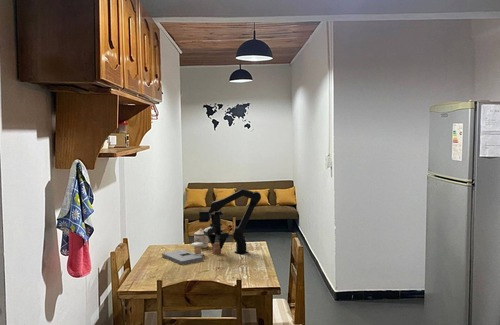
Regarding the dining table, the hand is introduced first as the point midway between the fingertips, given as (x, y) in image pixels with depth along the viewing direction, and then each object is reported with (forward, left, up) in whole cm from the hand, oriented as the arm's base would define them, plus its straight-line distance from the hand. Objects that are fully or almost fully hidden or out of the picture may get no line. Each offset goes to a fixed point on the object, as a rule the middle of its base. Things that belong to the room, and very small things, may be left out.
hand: (216, 247), depth 285 cm
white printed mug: (+20, -2, -4) cm, 21 cm away
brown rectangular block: (0, 0, -4) cm, 4 cm away
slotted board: (+3, +22, -4) cm, 23 cm away
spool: (+4, +11, -4) cm, 12 cm away
